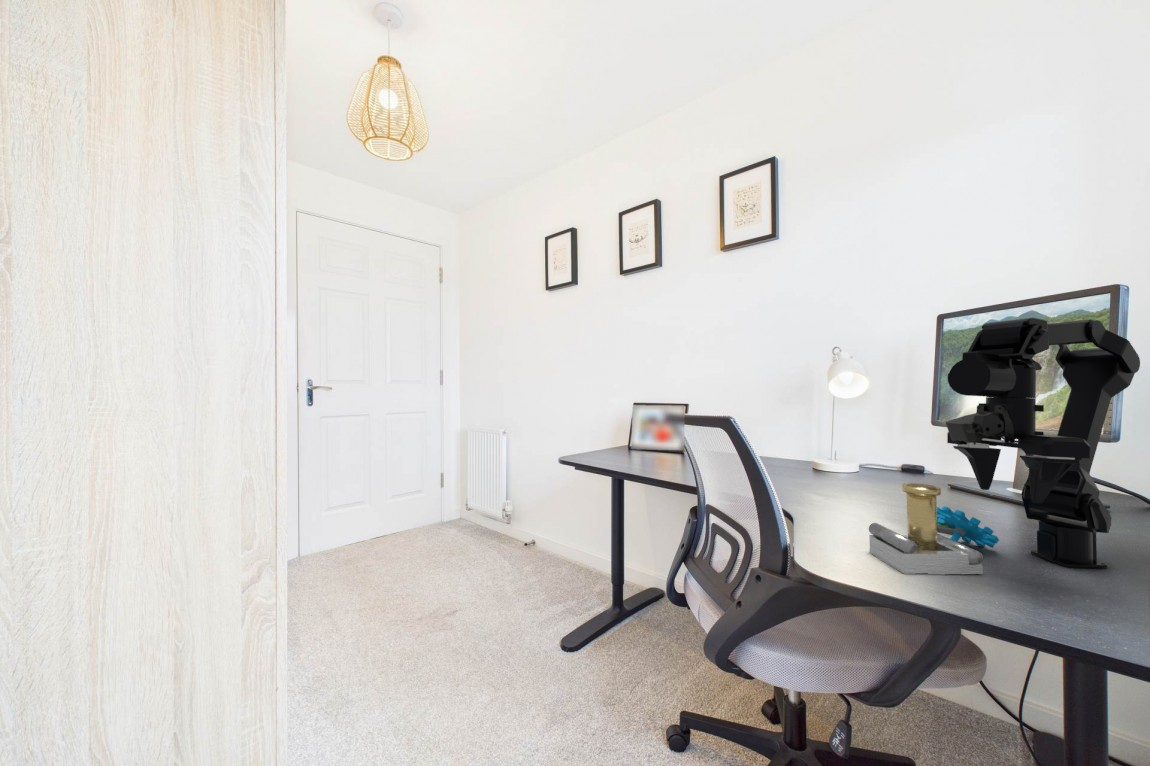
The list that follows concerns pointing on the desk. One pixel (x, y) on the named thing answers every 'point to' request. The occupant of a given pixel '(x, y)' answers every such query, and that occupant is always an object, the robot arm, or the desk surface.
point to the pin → (922, 515)
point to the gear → (964, 527)
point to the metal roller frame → (923, 554)
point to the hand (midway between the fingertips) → (1009, 495)
